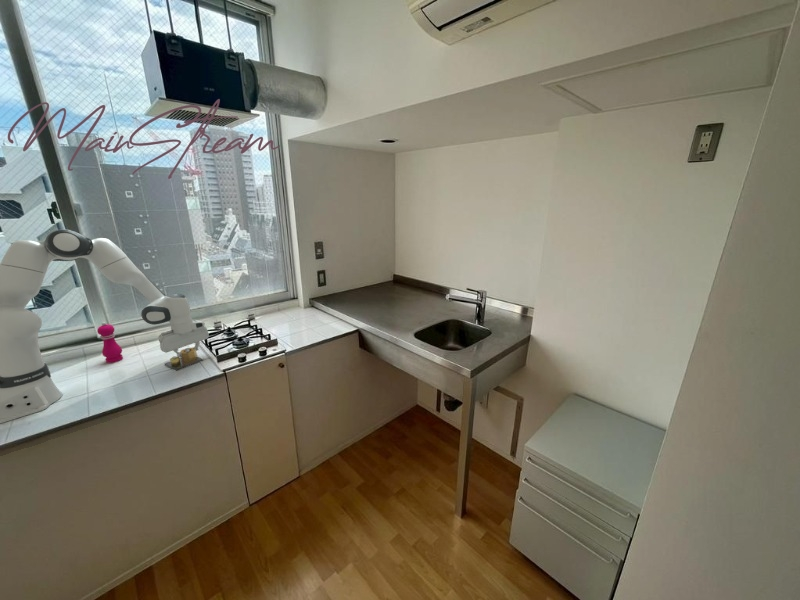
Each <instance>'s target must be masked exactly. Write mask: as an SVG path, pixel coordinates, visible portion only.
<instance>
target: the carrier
mask: <svg viewBox="0 0 800 600" xmlns="http://www.w3.org/2000/svg"><path fill="white" fill-rule="evenodd" d="M189 348H190V347H186V348H184V349H185V352H189V351H190V349H189ZM201 362H204V358H203V357H200V356H197V358H196V359H195V360H192V361H188V362H183V361H182V360H181V357H177V355H176V356H172V357H171V358H169V361H167V362H165V363H164V366H166V367H167V368H169V369H171V370H172V371H175V372H178V371H181V370H184V369H186V368H189V367H191V366H194V365H196V364H198V363H201Z"/></svg>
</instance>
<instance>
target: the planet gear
mask: <svg viewBox="0 0 800 600" xmlns="http://www.w3.org/2000/svg"><path fill="white" fill-rule="evenodd" d="M188 348H189V349H190V351H189V352H185V349H186V348H184V349H181V350H180V351H179V352H181V353H182V356H181V357H180V358H181V360H182V361H183V362H188V361H192V360H195V359H196V358H197V357H198V353H197V351H196V349H195V348H193V347H188Z"/></svg>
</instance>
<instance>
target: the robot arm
mask: <svg viewBox="0 0 800 600" xmlns="http://www.w3.org/2000/svg"><path fill="white" fill-rule="evenodd" d="M81 258H83V259H86V260H88V261H90V262H91V264H93V265H94V266H95V267H96V268H97V269H98V271H100V273H101V274H102V275H103V276H104V277H105V278H106V279H108V281H110V282H112V283H115V284H120V285H121V284H122V285H128V286H131V287H134V288H135V289H136V290H138V291H139V292H140V293H141V294H142V295H143V296H144V297H145V298H146V299H147V300H148V301H149V304H147V305H146V306H144V307H143V309H142V310H141V312H140V313H141V314H140V315H141V318H142V320H143V321H144V322H145V323H146V324H148V325H154V326H155V325H160V324H164V323H168V322H169V326H170V329H171V330H167V331H165V332H161V333H160V334H159V335H158V337H157V339H158V341H159V347H160V348H159V349H160V351H161V352H163V353H165V354H167V353H170V352H173V353H175V354H176V357H179V358H181V356H182V353H181V352H180V351H179V349H181V348H184V347H188V346H190V345H193V344H194V346H193V347H192V348H195V349H196V352H197V351H199V347H200V344H201V343H200V342H202V341H204V340H205V341H206V340H207V339H208V338H209V336H210V335H209V330H208V328H207V327H206V326H205V325H206V324H205V322H204V321H201V320H197V319H193V317H192V316H191V307H190V304H189V301H188V298H187V297H186V295H184V294H183V293H177V292H175V293H168V294H165V293H164V292H162V291H161V290H160V288H159V287H158V286H157V285H156V284H154V283H153V282H152V280H151V279H149V277H148V276H147V275H146V274H144V273H143V272H142V271H141V269H139V268H138V267H137V266H136V265H135V264H134V263H133V261H132V259H130V258H129V257H128V256H127V254H126V253H125V251H123V250H122V249H121V248H120V247H119V246H118V245H117V244H115V243H114V242H113V241H112V240H110V239H109V238H106V237H105V238H103V237H97V238H93V239H92V238H90V237H88V236H85V235H83V234H81V233H78V232H76V231H73V230H71V229H66V228H65V229H64V228H63V229H56V230H54V231H51V232H50V233H49V234H48V235H47V236H46V238H45V239H44V240H42V241H41V240H40V241H36V240H31V239H19V240H16V241H14V242H12V244H11V245H10V246H9V248H8V249H7V250H6V252H5V254H4V255H3V257H2V259H1V262H0V424H3V423H6V422H10V421H13V420H15V419H18V418H22V417H25V416H28V415H33V414H35V413H37V412H38V413H39V412H41V411H44V410H45V409H47V408H49V407H50V406H51V405H52V404H53V403H55V402H57V401H59V400H60V399H61V398H62V396H63V392H61V390H59V389H58V387H57V385H56V384H55V383H54V381H53V379H52V378H51V377H52V375H51V371H50V368H49V365H48V364H46V363H45V361H44V359H43V355H42V353H41V350H40V346H39V331H40V329H41V327H42V319H41V317H40V315H38V314H37V313H35V312H33V311H32V310H29V309H27V308H26V307H27V306H28V304H29V302H30V301H31V300H32V299H33V298H35V297H37V295H38V294H39V293H40V290H41V287H42V285H43V282H44V279H45V277H46V274H47V270H48V268H49V266H50V264H51V262H72V261H76V260H79V259H81Z"/></svg>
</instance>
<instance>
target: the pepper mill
mask: <svg viewBox="0 0 800 600" xmlns="http://www.w3.org/2000/svg"><path fill="white" fill-rule="evenodd" d="M97 334H98V335H100V340H102V342H103V347H102V350H101V352H102V357H105V362H106V363H107V364H113V363H117V362H120V361H122V360H123V359H124V356H123V354H122V352H123V348H122V347H121V346H120V345H119V344H118V343H117V342H116V339H115V337H116V335H115V327H114V326H113V325H112V324H108V323H107V322H105V321H102V322H101V325H100V326H98V328H97Z"/></svg>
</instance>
